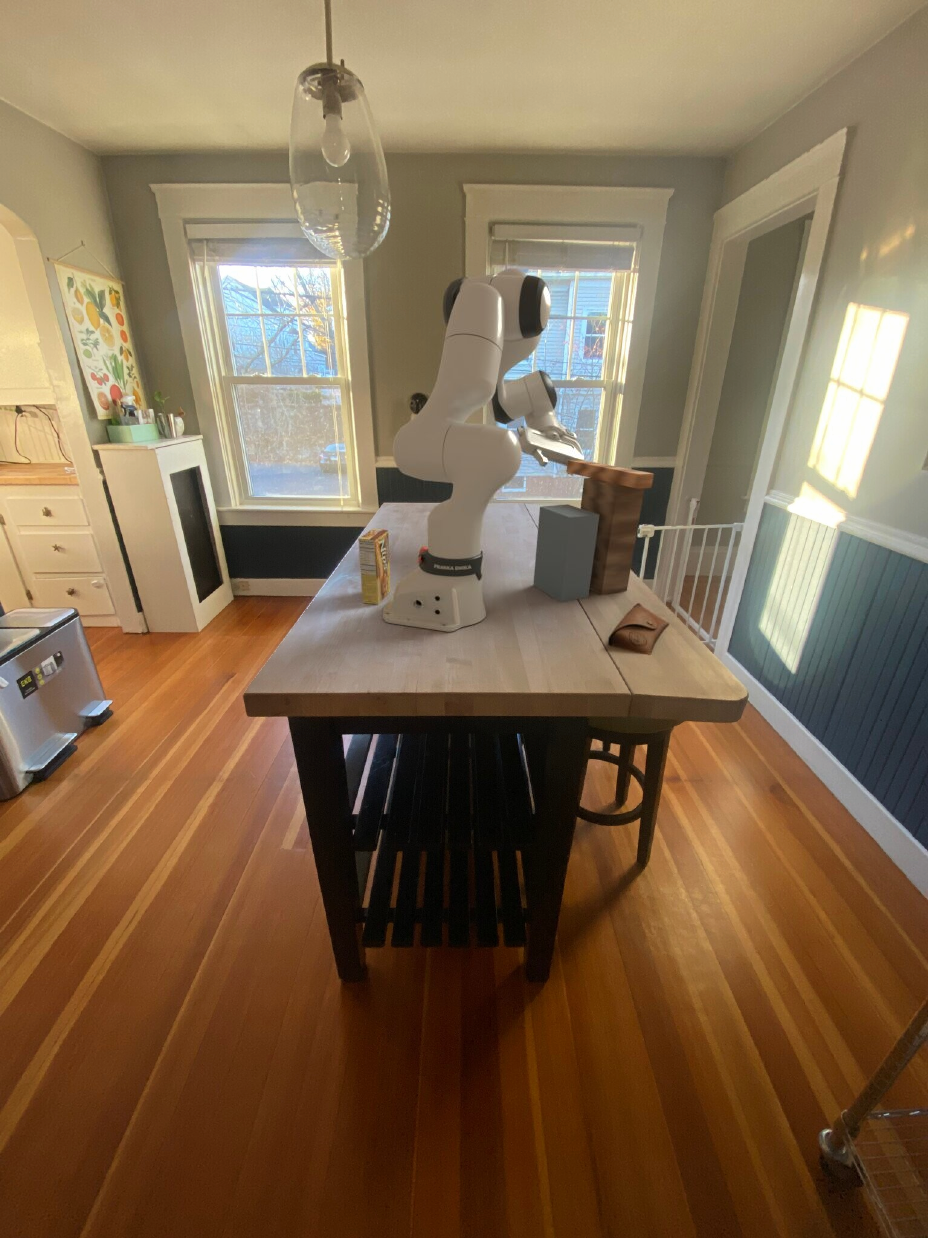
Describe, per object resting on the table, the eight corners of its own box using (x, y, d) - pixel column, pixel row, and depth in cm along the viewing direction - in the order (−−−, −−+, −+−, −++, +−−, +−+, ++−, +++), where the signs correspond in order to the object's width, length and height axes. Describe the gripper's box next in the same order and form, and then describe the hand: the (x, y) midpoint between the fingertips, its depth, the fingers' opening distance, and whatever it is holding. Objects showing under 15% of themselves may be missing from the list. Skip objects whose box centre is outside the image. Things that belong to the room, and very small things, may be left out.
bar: (566, 472, 126) (567, 460, 124) (578, 471, 127) (580, 459, 126) (637, 488, 104) (639, 474, 103) (651, 487, 106) (653, 473, 105)
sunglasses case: (652, 656, 90) (639, 624, 89) (617, 664, 94) (604, 633, 93) (671, 622, 104) (659, 594, 103) (639, 630, 108) (628, 604, 107)
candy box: (375, 589, 118) (371, 528, 112) (391, 591, 118) (388, 529, 111) (362, 603, 110) (357, 538, 104) (379, 605, 110) (375, 539, 103)
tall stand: (572, 579, 128) (584, 478, 117) (596, 575, 131) (610, 476, 120) (601, 595, 118) (617, 486, 107) (626, 590, 121) (645, 484, 110)
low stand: (533, 585, 123) (539, 506, 115) (559, 581, 126) (567, 504, 118) (560, 602, 113) (570, 517, 105) (588, 597, 116) (599, 514, 108)
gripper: (521, 415, 131) (532, 450, 124) (580, 435, 140) (593, 469, 133) (510, 433, 136) (520, 468, 129) (567, 452, 145) (579, 485, 138)
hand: (558, 468), depth 131 cm, fingers open, 8 cm apart
